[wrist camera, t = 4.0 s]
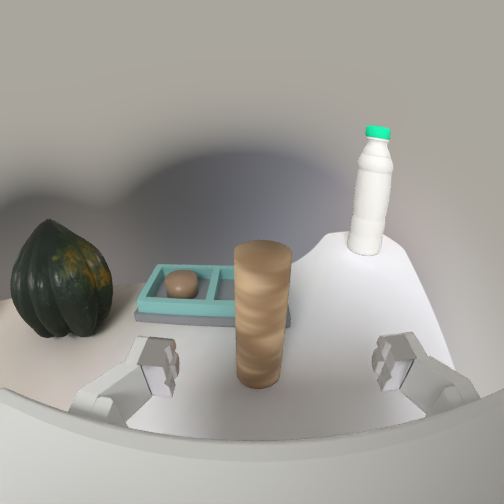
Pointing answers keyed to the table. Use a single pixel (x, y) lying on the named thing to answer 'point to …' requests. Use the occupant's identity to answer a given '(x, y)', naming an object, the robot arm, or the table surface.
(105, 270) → the squash
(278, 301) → the oak post
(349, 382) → the table surface
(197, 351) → the table surface
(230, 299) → the housing plate
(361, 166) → the water bottle
